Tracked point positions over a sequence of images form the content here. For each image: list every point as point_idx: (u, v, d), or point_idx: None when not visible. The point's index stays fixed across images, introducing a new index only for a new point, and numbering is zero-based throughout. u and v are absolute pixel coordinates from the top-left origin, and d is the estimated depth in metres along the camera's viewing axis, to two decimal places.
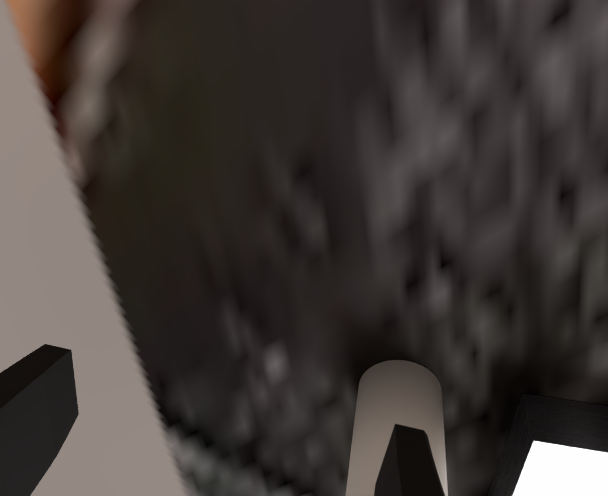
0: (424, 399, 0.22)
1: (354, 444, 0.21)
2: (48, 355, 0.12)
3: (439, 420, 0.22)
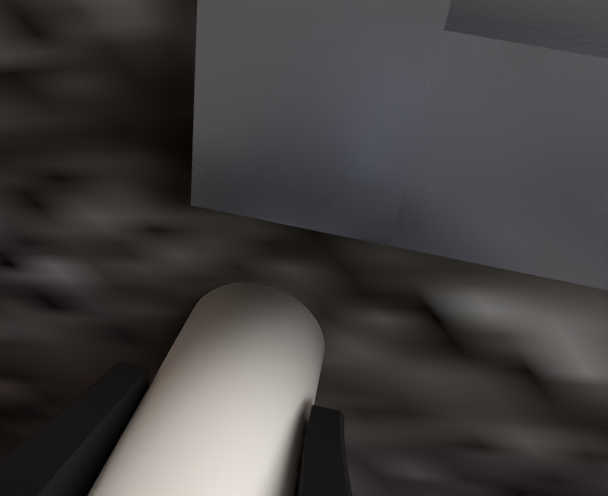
0: (169, 352, 0.12)
1: None
2: (127, 373, 0.11)
3: (187, 348, 0.12)
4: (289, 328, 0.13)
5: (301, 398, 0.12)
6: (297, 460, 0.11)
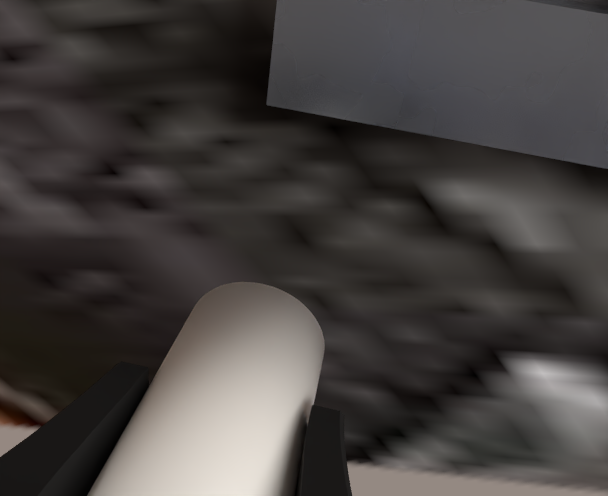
0: (169, 351, 0.13)
1: None
2: (127, 373, 0.11)
3: (187, 347, 0.12)
4: (289, 327, 0.13)
5: (301, 398, 0.12)
6: (297, 459, 0.11)
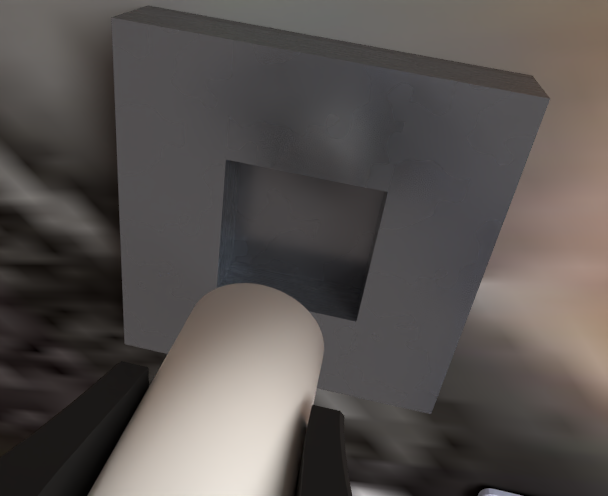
0: (169, 351, 0.12)
1: None
2: (127, 372, 0.11)
3: (188, 348, 0.12)
4: (289, 329, 0.13)
5: (301, 400, 0.12)
6: (297, 461, 0.11)
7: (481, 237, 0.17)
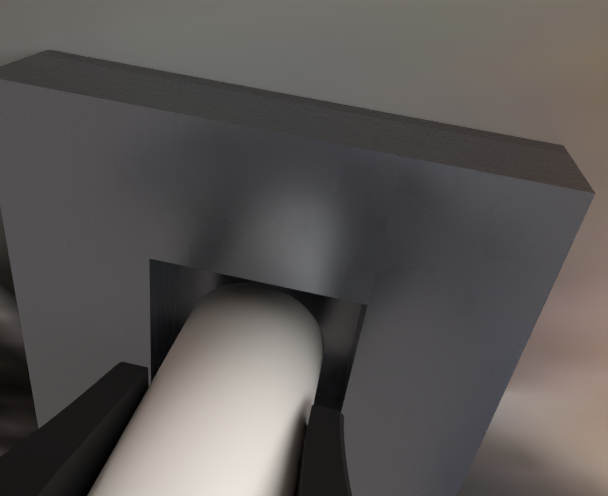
0: (169, 351, 0.12)
1: None
2: (127, 373, 0.11)
3: (187, 347, 0.12)
4: (290, 329, 0.13)
5: (301, 399, 0.12)
6: (297, 461, 0.11)
7: (494, 363, 0.12)
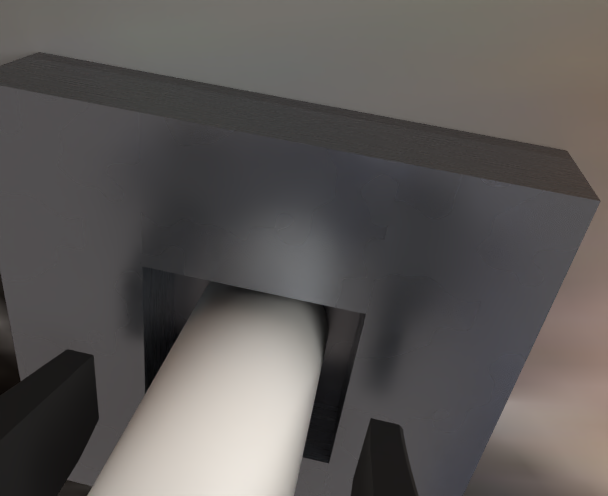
0: (182, 330, 0.13)
1: None
2: (71, 360, 0.11)
3: (199, 327, 0.12)
4: (296, 310, 0.13)
5: (307, 376, 0.12)
6: (303, 432, 0.11)
7: (496, 374, 0.12)
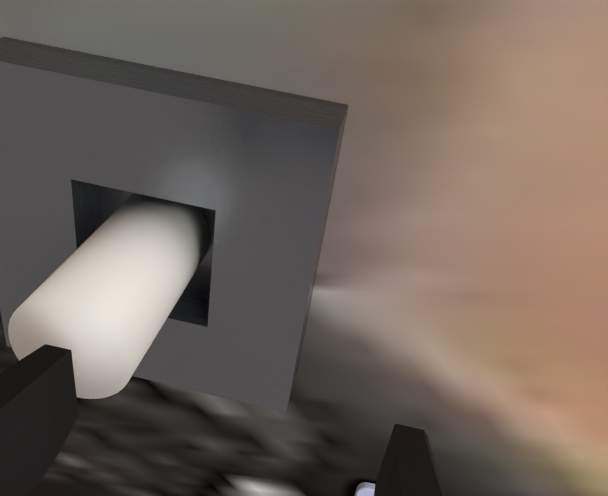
0: None
1: None
2: (48, 355, 0.12)
3: (110, 220, 0.19)
4: (179, 214, 0.20)
5: (181, 252, 0.19)
6: (173, 283, 0.18)
7: (302, 251, 0.18)
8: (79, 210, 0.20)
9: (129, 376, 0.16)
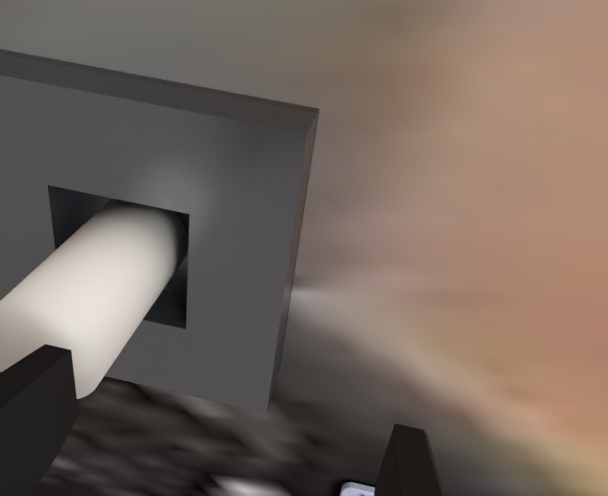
0: None
1: None
2: (48, 355, 0.12)
3: (86, 224, 0.19)
4: (156, 218, 0.20)
5: (156, 256, 0.19)
6: (146, 286, 0.18)
7: (276, 254, 0.19)
8: (57, 215, 0.20)
9: (99, 378, 0.16)
